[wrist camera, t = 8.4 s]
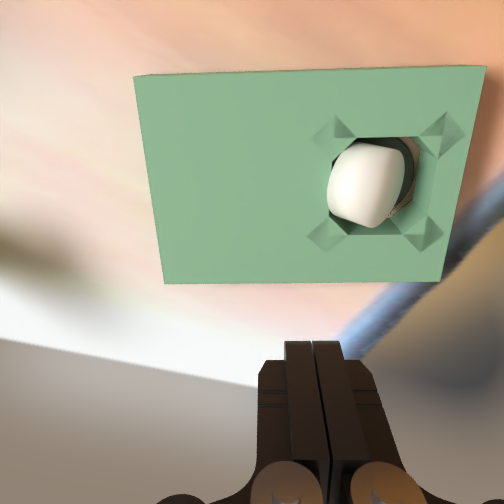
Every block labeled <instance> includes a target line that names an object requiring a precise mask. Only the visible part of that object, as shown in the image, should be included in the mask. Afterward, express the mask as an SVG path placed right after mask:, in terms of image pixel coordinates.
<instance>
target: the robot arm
mask: <svg viewBox="0 0 504 504" xmlns="http://www.w3.org/2000/svg"><path fill="white" fill-rule="evenodd" d="M257 416H258V417H257V419H258V420H257V461H256V467H255V471H254V473H253V475H252V477H251V479H250V481H249V482H248V483H247V484H246V486H245V487H244V488H242V489H241V490H240V491H239V492H237V493H235V494H234V495H232V496H229V497H227V498H224V499H222V500H219V501H216V502H213V503H210V504H455V503H452V502H449V501H446V500H443V499H441V498H438V497H436V496H434V495H432V494H430V493H429V492H427V491H425V490H424V489H423V488H421V487H420V486H419V485H418V484H417V483H416V481H415V480H414V479H413V478H412V477H411V476H410V475H409V474H408V473H407V472H406V470H405V468H404V466H403V464H402V462H401V459H400V456H399V453H398V450H397V447H396V444H395V441H394V438H393V435H392V432H391V430H390V426H389V423H388V421H387V418H386V415H385V412H384V409H383V408H382V403H381V400H380V397H379V394H378V393H377V388H376V385H375V382H374V379H373V376H372V374H371V372H370V371H369V370H368V369H367V368H366V367H365V366H364V365H363V363H362V362H361V361H360V360H344V357H343V353H342V350H341V346H340V343H339V341H312V344H311V341H285V342H284V360H266V361H265V363H264V365H263V367H262V368H261V370H260V372H259V374H258V415H257ZM157 504H205V503H204V502H203V501H201V500H200V499H199V498H197V497H195V496H191V495H187V494H179V495H173V496H169V497H167V498H165V499H163V500H161V501H160V502H158V503H157ZM483 504H504V500H501V499H495V500H489V501H487V502H484V503H483Z"/></svg>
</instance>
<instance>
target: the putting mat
mask: <svg viewBox="0 0 504 504" xmlns="http://www.w3.org/2000/svg"><path fill="white" fill-rule="evenodd" d="M486 68H487V66H478V65H441V66H409V67H376V68H344V69H312V70H279V71H247V72H215V73H183V74H150V75H141V76H135V77H133V81H134V87H135V94H136V100H137V107H138V114H139V120H140V127H141V133H142V140H143V147H144V153H145V160H146V166H147V173H148V179H149V186H150V193H151V199H152V206H153V212H154V219H155V226H156V232H157V239H158V245H159V252H160V258H161V265H162V272H163V278H164V284H239V283H343V282H440V278H441V274H442V269H443V265H444V260H445V256H446V251H447V246H448V242H449V237H450V233H451V228H452V224H453V219H454V214H455V210H456V205H457V201H458V196H459V191H460V187H461V182H462V178H463V173H464V169H465V164H466V159H467V155H468V150H469V146H470V141H471V137H472V132H473V127H474V123H475V118H476V114H477V109H478V105H479V100H480V95H481V91H482V86H483V82H484V77H485V72H486ZM395 137H411V138H412V140H413V141H414V142H415V143H416V144H417V145H418V147H419V148H420V155H419V161H418V167H417V173H416V180H415V186H414V192H413V198H412V200H411V201H410V202H409V203H408V204H407V205H405V206H404V207H403V208H402V209H400V210H399V211H398V212H397V213H396V214H394V215H393V216H392V217H391V218H386V219H385V220H384V221H383V222H382V223H381V224H380V225H378V226H377V227H374V228H369V227H366V226H363V225H360V224H357V223H355V222H352V221H349V220H346V219H340V218H339V217H338V216H335V215H333V214H332V213H331V211H330V209H329V207H328V203H327V187H328V182H329V178H330V174H331V171H332V169H333V167H334V164H335V162H336V160H337V159H338V157H339V156H340V154H341V153H342V152H343V151H344V150H345V149H346V148H347V147H348V146H349V145H350V144H352V143H355V142H362V143H367V144H372V145H377V146H382V147H387V148H392V149H396V150H399V151H400V152H401V153H402V155H403V158H404V165H405V170H404V179H403V183H402V187H401V191H400V194H399V196H398V199H397V201H396V203H395V205H394V206H396V205H397V204H398V203H399V202H400V201H401V200H402V199H403V198H404V197H405V195H406V194H407V192H408V190H409V188H410V186H411V184H412V181H413V176H414V163H413V159H412V156H411V154H410V152H409V150H408V148H407V147H406V146H405V145H404V144H403V143H402V142H401V141H400V140H398V139H397V138H395Z"/></svg>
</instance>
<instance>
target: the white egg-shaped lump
mask: <svg viewBox="0 0 504 504" xmlns="http://www.w3.org/2000/svg"><path fill="white" fill-rule="evenodd" d="M404 170H405V165H404V158H403V155H402V153H401V152H400V151H399V150H396V149H392V148H387V147H382V146H377V145H372V144H367V143H362V142H355V143H352V144H350V145H349V146H348V147H347V148H346V149H345V150H344V151H343V152H342V153H341V154H340V156H339V157H338V159H337V160H336V162H335V164H334V167H333V169H332V171H331V174H330V178H329V182H328V187H327V203H328V207H329V209H330V211H331V213H332V214H333V215H335V216H338V217H341V218H343V219H346V220H349V221H352V222H355V223H357V224H360V225H363V226H366V227H369V228H374V227H377V226H378V225H380V224H381V223H382V222H383V221H384V220H385V219H386V218H387V216H388V215H389V214H390V212H391V211H392V209H393V207H394V205H395V203H396V201H397V199H398V196H399V194H400V191H401V187H402V183H403V179H404Z"/></svg>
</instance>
